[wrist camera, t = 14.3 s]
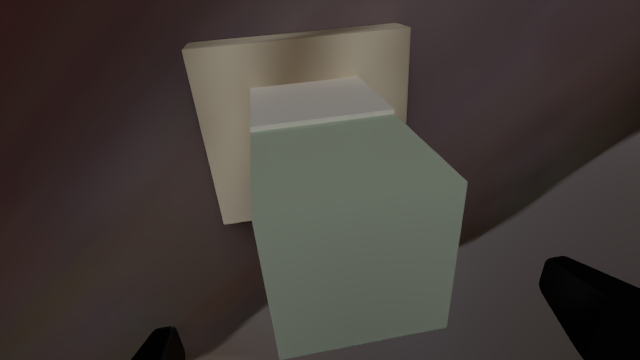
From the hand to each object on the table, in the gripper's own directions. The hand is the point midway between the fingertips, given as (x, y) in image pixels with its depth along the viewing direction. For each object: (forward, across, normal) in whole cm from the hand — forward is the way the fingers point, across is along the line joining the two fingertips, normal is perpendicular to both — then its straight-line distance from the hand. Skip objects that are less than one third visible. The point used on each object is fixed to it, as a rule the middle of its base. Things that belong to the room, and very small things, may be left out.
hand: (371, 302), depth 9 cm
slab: (+13, 0, 0) cm, 13 cm away
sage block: (+6, 0, 0) cm, 6 cm away
